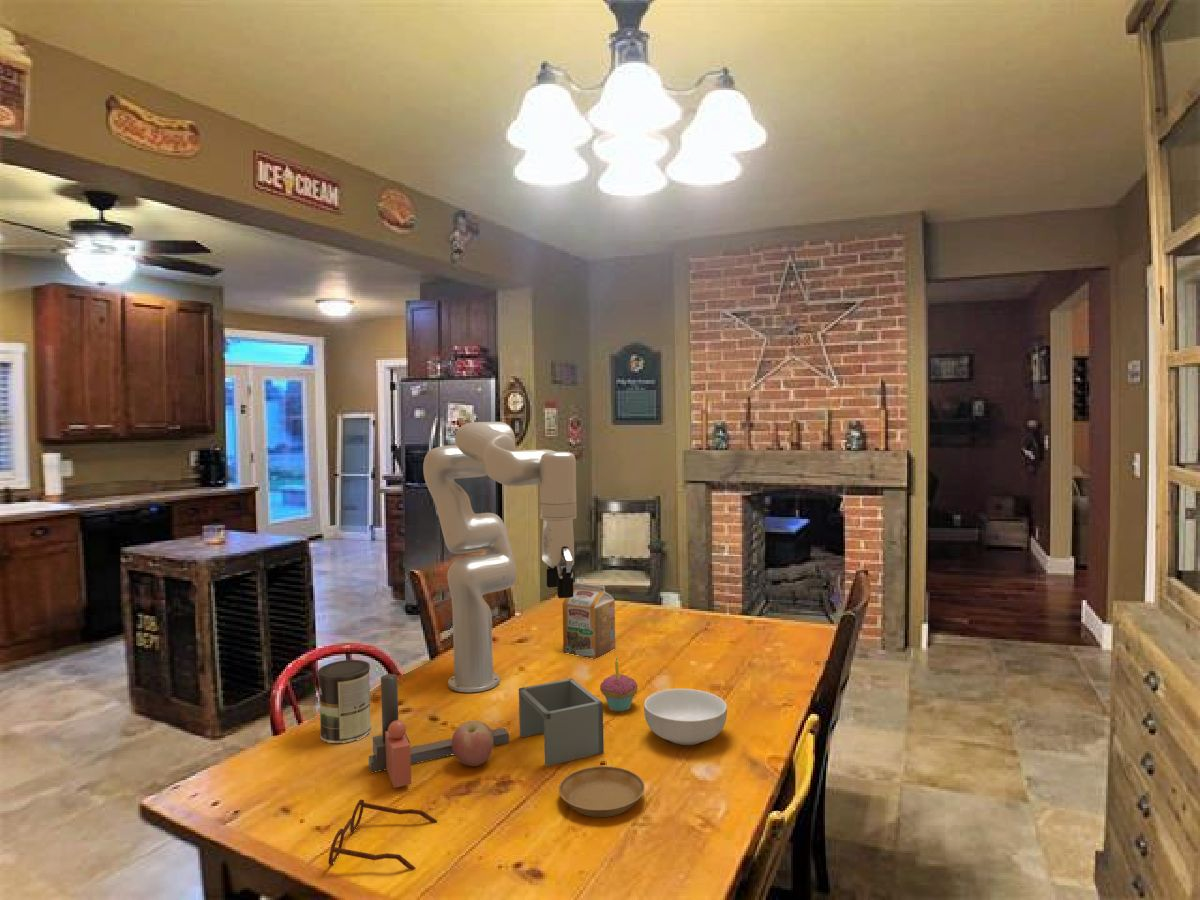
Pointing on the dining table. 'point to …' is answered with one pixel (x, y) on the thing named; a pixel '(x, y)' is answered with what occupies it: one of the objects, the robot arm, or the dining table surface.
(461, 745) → the apple
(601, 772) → the plant saucer
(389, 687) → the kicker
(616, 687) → the cupcake
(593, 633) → the milk carton
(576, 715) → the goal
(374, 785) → the dining table surface
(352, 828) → the glasses
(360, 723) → the coffee can
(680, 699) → the cereal bowl
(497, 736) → the rail
